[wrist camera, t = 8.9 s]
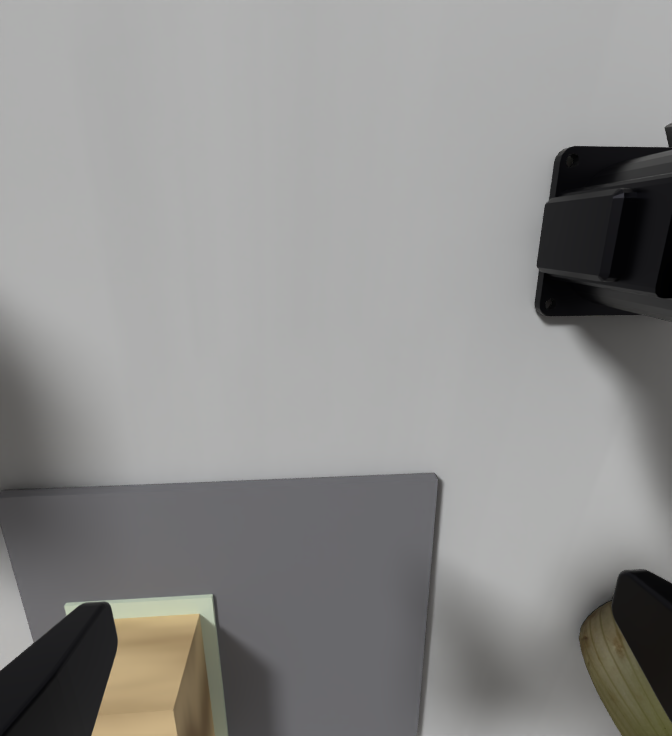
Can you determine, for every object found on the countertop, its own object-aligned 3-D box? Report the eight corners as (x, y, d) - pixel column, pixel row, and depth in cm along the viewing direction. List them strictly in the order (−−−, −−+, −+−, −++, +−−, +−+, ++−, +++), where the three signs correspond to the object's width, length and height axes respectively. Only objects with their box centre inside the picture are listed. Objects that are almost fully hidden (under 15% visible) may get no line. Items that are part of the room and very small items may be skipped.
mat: (434, 473, 21) (439, 482, 20) (414, 730, 26) (417, 745, 25) (1, 490, 19) (-11, 501, 18) (75, 758, 25) (68, 775, 24)
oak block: (215, 738, 24) (196, 848, 20) (114, 746, 23) (71, 861, 19) (199, 613, 21) (173, 709, 17) (85, 620, 21) (28, 721, 16)
